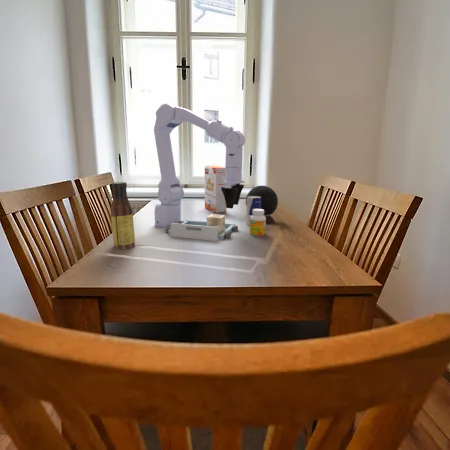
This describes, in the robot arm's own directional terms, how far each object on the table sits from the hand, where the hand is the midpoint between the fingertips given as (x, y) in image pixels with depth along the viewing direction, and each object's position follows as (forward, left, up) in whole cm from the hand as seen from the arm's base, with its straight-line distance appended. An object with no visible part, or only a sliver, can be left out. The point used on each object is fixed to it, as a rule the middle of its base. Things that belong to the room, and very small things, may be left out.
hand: (232, 206), depth 120 cm
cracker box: (-18, +39, -10) cm, 44 cm away
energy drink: (+6, +11, -10) cm, 16 cm away
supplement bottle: (+10, -2, -10) cm, 14 cm away
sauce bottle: (-26, -28, -10) cm, 40 cm away
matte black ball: (+7, +23, -10) cm, 26 cm away
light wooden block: (-4, -7, -9) cm, 12 cm away
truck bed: (-9, -6, -10) cm, 15 cm away
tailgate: (-9, -15, -9) cm, 20 cm away
